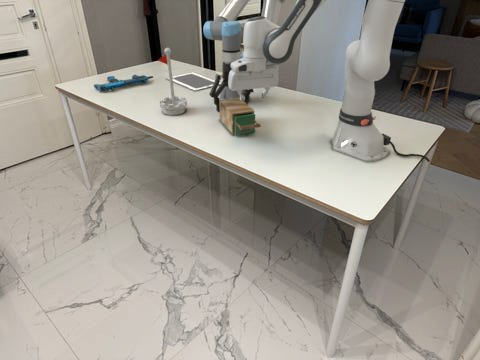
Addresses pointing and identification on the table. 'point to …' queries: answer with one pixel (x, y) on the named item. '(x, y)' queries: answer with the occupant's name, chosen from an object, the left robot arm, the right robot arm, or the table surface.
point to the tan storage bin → (232, 112)
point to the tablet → (193, 81)
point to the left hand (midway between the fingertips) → (232, 109)
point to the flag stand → (174, 103)
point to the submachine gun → (121, 82)
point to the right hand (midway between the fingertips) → (253, 98)
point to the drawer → (245, 123)
